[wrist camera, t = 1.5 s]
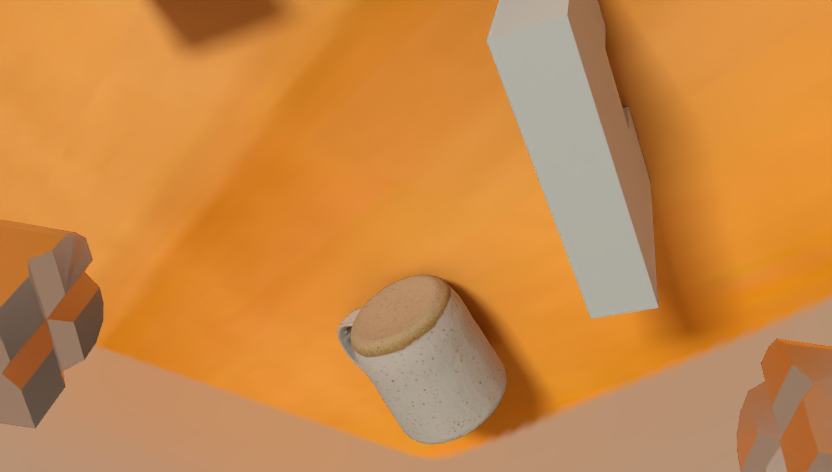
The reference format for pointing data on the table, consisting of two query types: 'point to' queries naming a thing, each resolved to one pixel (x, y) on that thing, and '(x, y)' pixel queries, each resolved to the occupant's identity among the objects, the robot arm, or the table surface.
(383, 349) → the ceramic mug
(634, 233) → the grey flat block
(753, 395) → the robot arm
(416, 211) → the table surface
